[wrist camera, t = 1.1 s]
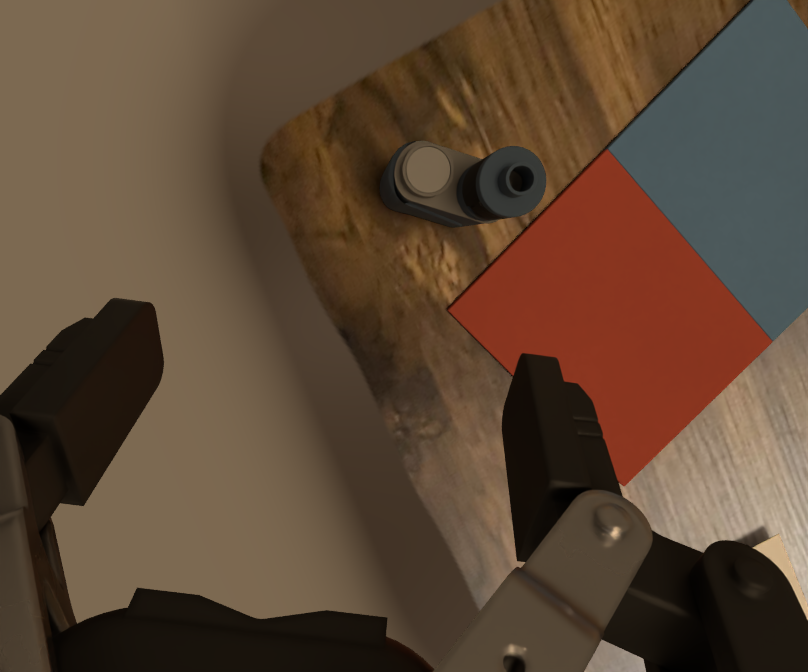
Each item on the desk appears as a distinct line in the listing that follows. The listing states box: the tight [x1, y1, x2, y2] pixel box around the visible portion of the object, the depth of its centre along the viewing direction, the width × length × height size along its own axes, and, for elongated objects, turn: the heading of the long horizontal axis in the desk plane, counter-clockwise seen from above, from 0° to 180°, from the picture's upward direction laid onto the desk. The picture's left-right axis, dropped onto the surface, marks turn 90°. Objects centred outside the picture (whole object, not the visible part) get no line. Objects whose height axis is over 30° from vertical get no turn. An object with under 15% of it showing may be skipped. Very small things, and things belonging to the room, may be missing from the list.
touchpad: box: [752, 534, 808, 620], centre depth 35 cm, size 8×15×2 cm, turn 27°
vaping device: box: [379, 141, 546, 227], centre depth 24 cm, size 3×5×12 cm, turn 73°
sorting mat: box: [447, 0, 808, 486], centre depth 31 cm, size 15×24×1 cm, turn 135°
